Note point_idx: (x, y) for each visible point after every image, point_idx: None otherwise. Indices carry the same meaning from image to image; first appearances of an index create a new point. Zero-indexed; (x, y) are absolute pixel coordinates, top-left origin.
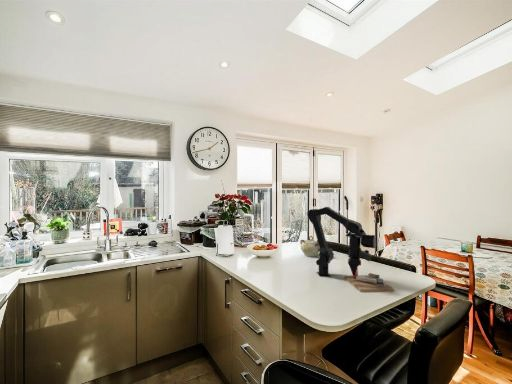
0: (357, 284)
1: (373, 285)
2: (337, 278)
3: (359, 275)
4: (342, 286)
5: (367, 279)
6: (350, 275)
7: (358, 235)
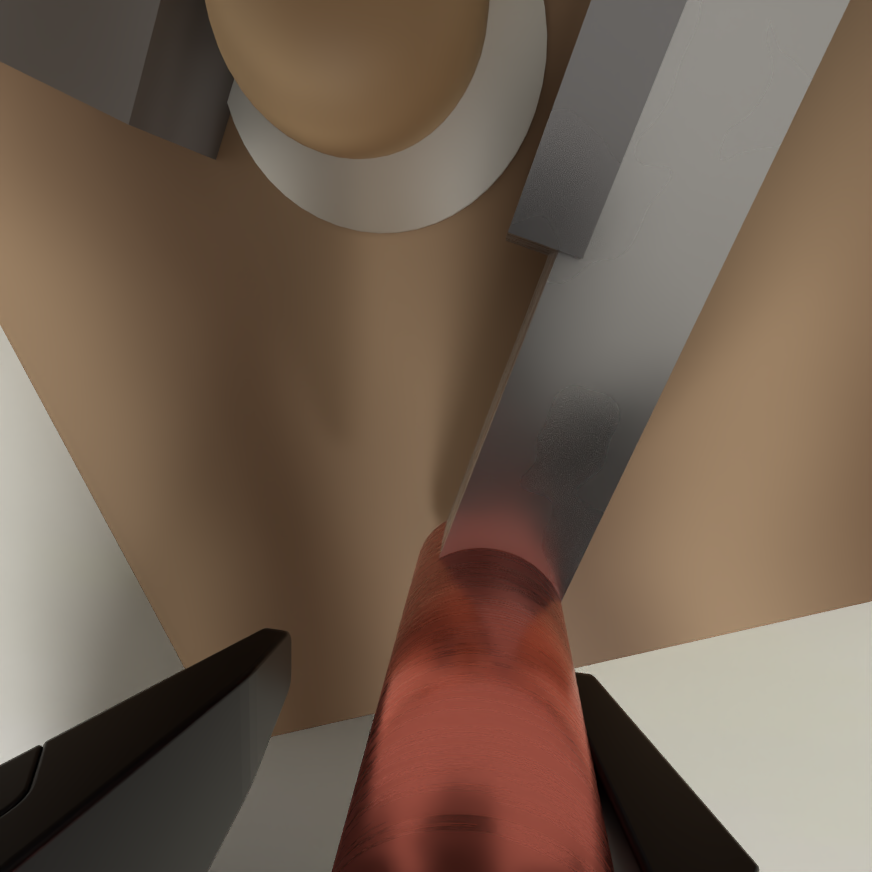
0: (837, 537)
1: (865, 62)
2: (343, 823)
3: (50, 394)
4: (817, 797)
5: (728, 235)
6: (156, 614)
7: None
